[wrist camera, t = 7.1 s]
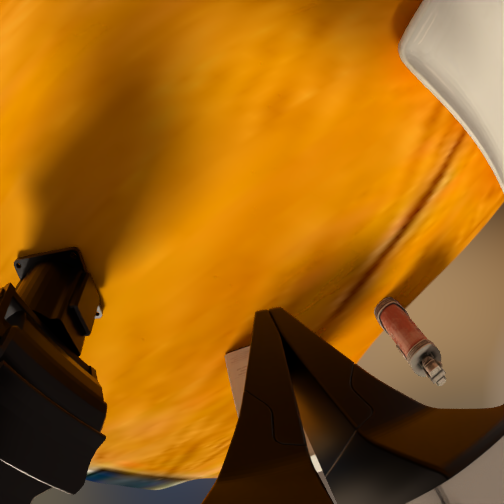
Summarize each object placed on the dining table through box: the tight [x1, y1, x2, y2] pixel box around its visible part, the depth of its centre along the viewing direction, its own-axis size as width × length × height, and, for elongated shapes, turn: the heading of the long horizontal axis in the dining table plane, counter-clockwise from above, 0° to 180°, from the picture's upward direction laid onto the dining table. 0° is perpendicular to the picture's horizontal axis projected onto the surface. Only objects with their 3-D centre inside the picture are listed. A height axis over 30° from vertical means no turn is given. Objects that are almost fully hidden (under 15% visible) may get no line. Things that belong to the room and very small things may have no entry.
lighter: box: [374, 297, 446, 386], centre depth 27 cm, size 8×3×10 cm, turn 43°
